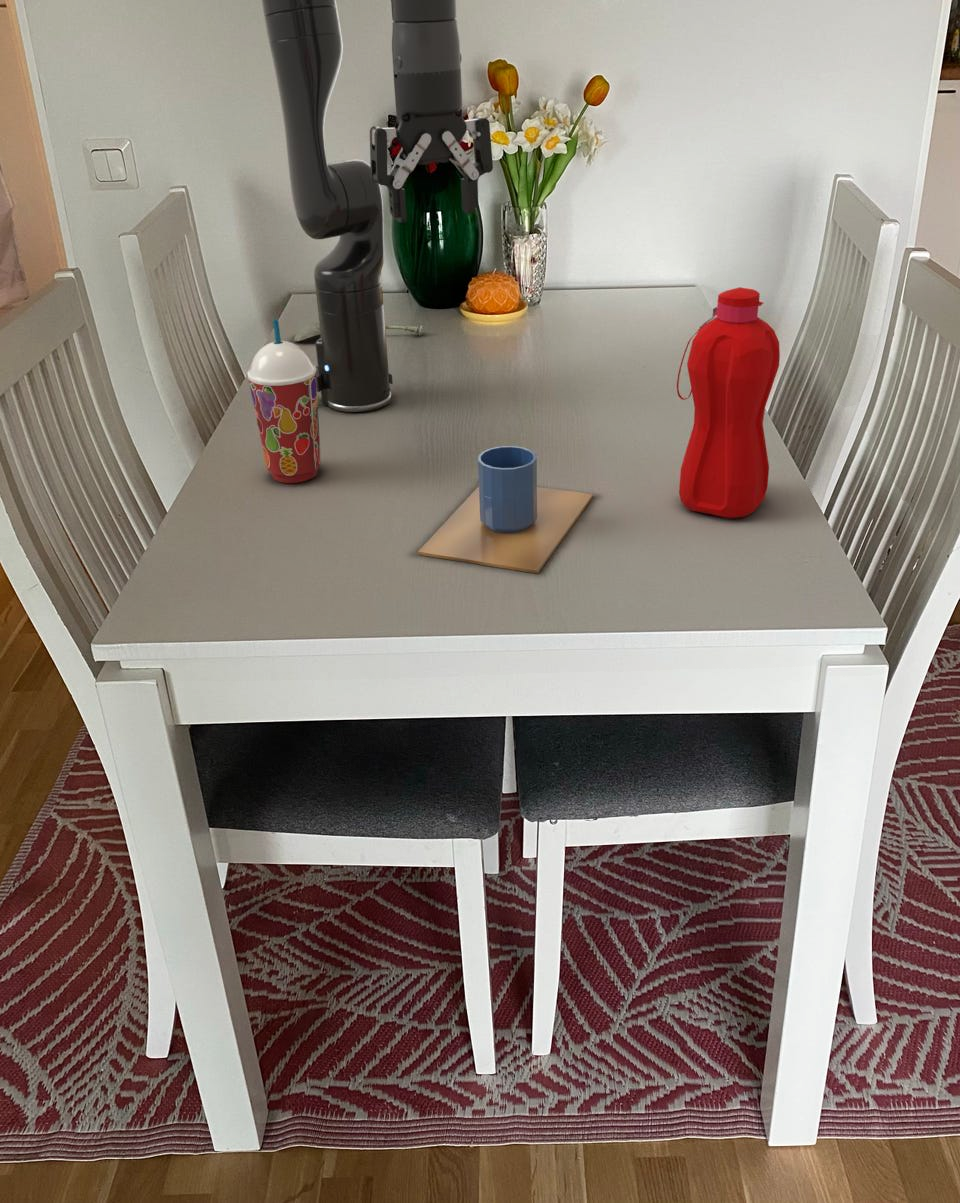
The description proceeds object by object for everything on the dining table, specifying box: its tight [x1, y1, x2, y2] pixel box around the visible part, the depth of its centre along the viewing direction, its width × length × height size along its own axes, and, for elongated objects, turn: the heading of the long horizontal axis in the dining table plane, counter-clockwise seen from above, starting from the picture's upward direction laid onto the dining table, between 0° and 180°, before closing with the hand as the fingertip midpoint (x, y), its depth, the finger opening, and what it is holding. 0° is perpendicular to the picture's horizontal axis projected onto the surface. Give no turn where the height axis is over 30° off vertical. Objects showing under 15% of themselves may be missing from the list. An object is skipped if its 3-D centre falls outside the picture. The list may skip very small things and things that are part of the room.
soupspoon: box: [293, 321, 423, 343], centre depth 195 cm, size 22×3×7 cm
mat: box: [417, 485, 594, 574], centre depth 132 cm, size 14×20×1 cm
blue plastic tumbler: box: [477, 445, 538, 533], centre depth 130 cm, size 6×6×8 cm
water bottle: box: [676, 286, 781, 520], centre depth 129 cm, size 9×11×25 cm
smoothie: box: [246, 318, 322, 484], centre depth 141 cm, size 8×8×20 cm
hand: (434, 216), depth 135 cm, fingers open, 8 cm apart
